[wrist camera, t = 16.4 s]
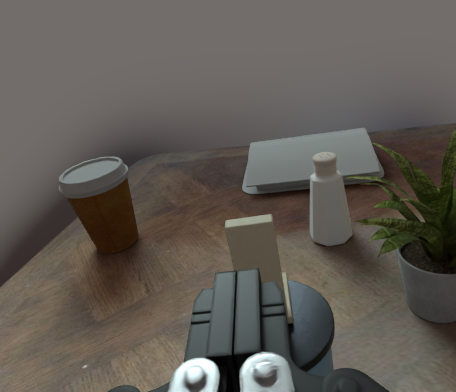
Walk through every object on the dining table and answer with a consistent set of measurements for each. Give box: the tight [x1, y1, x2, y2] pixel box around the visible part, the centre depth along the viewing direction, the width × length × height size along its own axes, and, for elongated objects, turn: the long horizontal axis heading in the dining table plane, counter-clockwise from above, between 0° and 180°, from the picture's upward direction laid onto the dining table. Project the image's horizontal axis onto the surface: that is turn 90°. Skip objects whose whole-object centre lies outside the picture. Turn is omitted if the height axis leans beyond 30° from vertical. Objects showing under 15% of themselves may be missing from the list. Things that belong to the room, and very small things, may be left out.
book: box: [242, 128, 384, 194], centre depth 69 cm, size 15×23×4 cm, turn 82°
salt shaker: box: [310, 152, 353, 246], centre depth 49 cm, size 5×5×11 cm
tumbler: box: [288, 280, 335, 377], centre depth 26 cm, size 7×7×13 cm
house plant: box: [344, 129, 456, 323], centre depth 36 cm, size 14×14×16 cm
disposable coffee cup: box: [59, 157, 138, 254], centre depth 57 cm, size 10×10×12 cm
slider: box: [225, 214, 293, 324], centre depth 23 cm, size 4×3×7 cm
